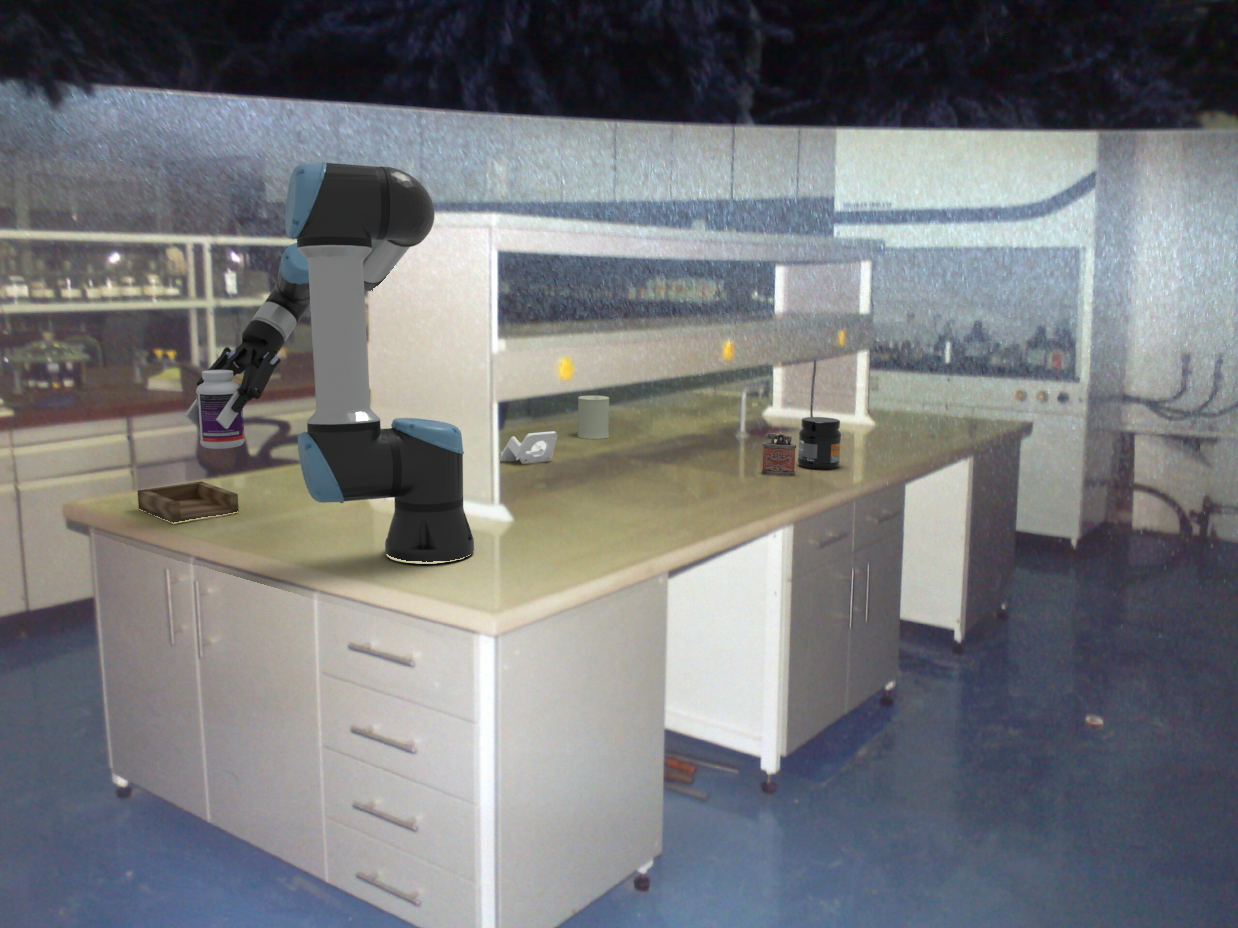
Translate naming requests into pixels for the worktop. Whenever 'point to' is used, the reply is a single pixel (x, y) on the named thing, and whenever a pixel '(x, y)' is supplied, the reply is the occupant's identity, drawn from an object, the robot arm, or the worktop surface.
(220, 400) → the pill bottle
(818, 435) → the supplement container
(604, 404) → the can
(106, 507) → the worktop surface
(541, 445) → the mounting bracket
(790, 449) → the lighter
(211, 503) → the slot tray
